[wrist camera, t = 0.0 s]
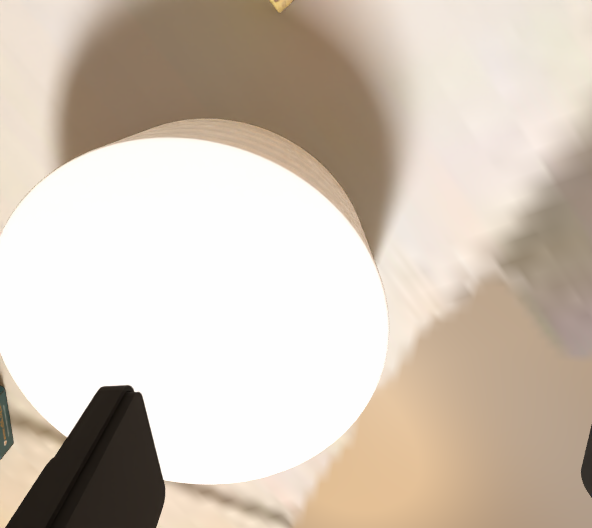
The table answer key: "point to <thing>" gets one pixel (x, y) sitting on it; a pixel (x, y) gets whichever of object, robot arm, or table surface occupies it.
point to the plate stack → (197, 297)
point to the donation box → (4, 425)
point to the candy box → (281, 4)
